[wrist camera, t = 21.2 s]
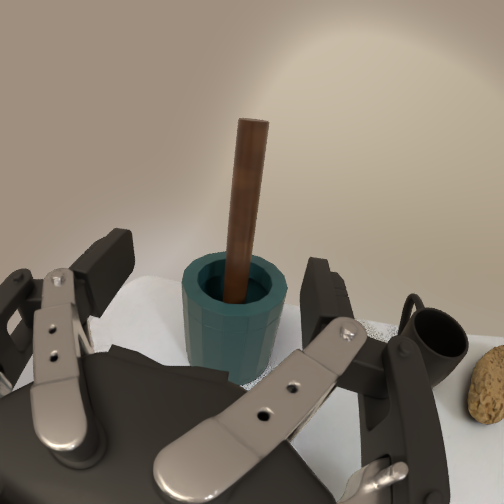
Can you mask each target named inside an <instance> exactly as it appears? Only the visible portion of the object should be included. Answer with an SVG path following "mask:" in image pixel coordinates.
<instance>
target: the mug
mask: <svg viewBox="0 0 504 504" xmlns="http://www.w3.org/2000/svg"><path fill="white" fill-rule="evenodd" d="M414 303H415V306H416V310H417V311H415V312H414V313H413V315H412V316H411V312H412V308H413V305H414ZM410 316H411V318H410ZM398 335H401V336H405V337H408V338H410V339H411V340H413V341H414V342H415V343H416V344H417V345H418V347H419V349H420V351H421V354H422V357H423V361H424V364H425V367H426V370H427V374H428V377H429V381H430V384H431V388H433V387H434V386H436V385H437V384H439V383H440V382H441V381H443V380H444V379H445V378H446V377H447V376H448V375H449V374H450V373H451V372H452V371H453V370H454V369H455V367H456V366H457V365H458V364H459V363H460V362H461V360H462V359H463V358H464V356H465V355H466V354H467V351H468V348H469V342H468V338H467V335H466V333H465V331H464V330H463V328H462V327H461V325H459V323H458V322H457V321H456V320H455V319H454V318H452V317H451V316H450V315H448V314H446V313H445V312H442V311H441V310H438V309H435V308H425V307H424V305H423V302H422V300H421V299H420V297H419V296H418V295H417V294H410V295H409V296H408V297H407V299H406V301H405V304H404V308H403V311H402V316H401V321H400V325H399V330H398Z"/></svg>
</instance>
